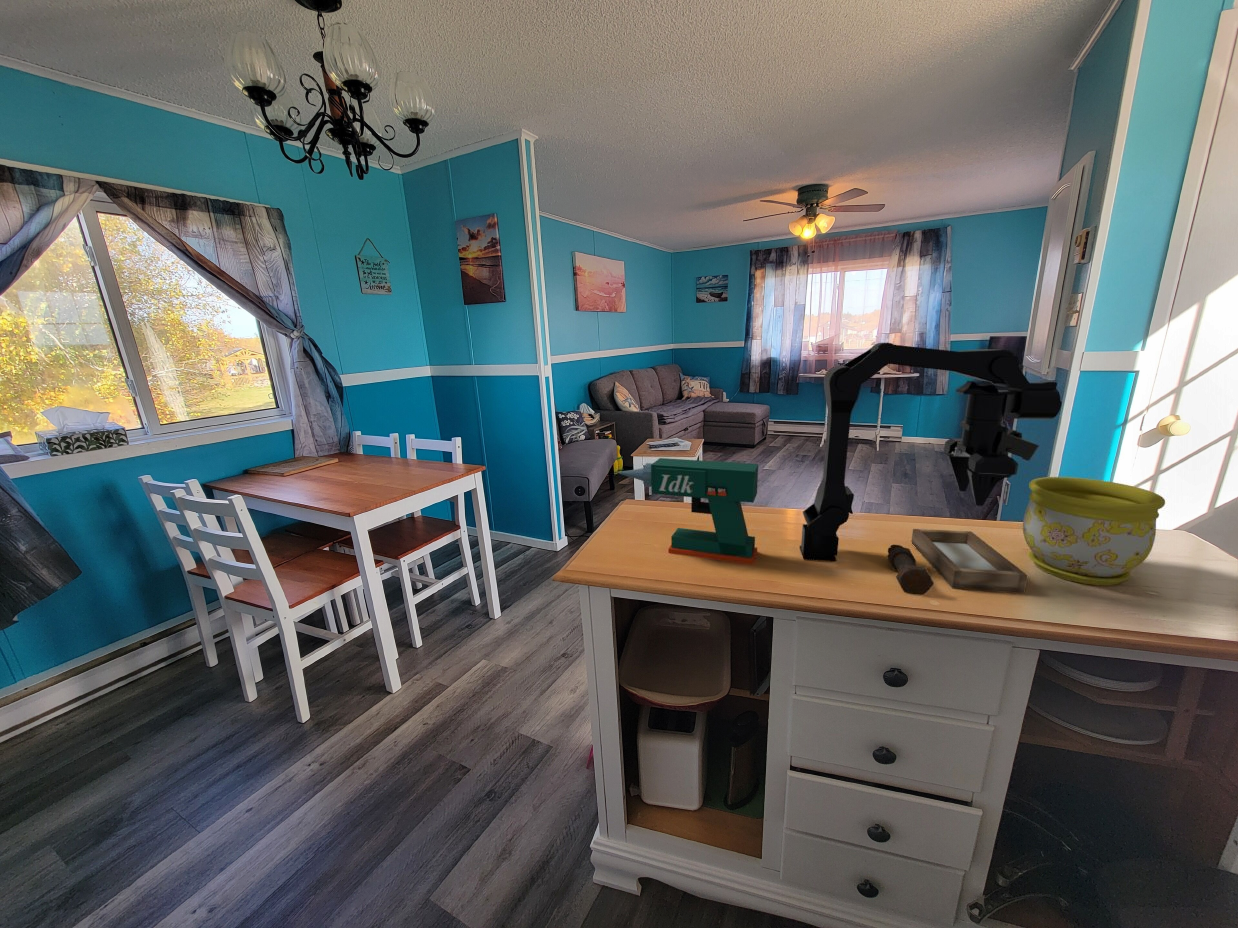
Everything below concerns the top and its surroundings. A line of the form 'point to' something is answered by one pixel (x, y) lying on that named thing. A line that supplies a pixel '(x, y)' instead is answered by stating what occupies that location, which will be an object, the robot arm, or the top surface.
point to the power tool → (707, 504)
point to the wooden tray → (968, 561)
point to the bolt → (909, 571)
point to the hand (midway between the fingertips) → (970, 497)
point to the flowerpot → (1089, 528)
